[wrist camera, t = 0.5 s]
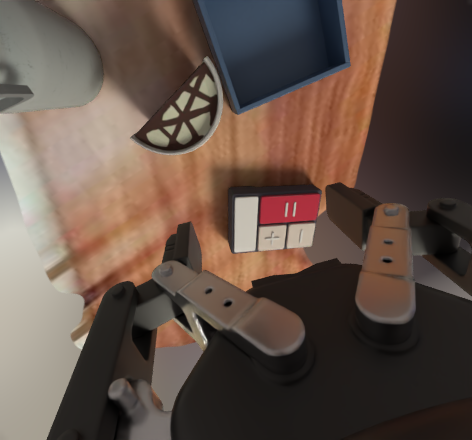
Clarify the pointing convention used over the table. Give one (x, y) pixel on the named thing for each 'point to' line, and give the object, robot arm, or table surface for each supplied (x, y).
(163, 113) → the food container
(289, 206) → the calculator
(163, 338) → the table surface
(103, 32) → the table surface
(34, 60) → the water bottle
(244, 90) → the tote
